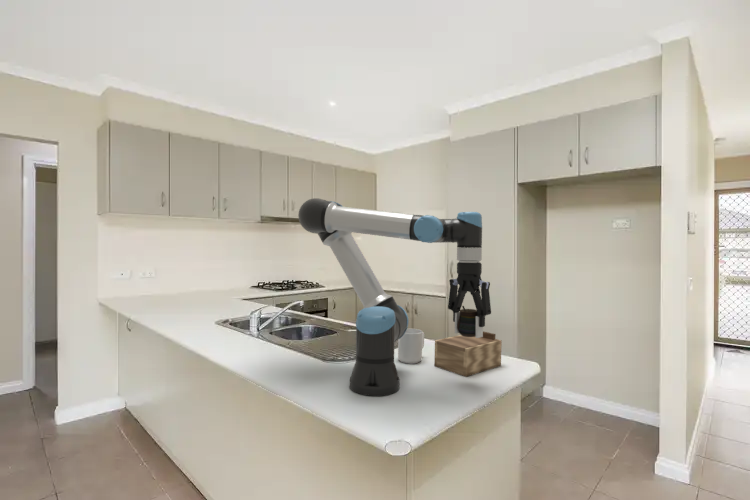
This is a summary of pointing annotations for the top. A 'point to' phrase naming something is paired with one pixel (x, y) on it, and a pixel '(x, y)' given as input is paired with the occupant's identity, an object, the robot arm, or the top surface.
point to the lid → (467, 341)
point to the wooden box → (468, 358)
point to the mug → (411, 346)
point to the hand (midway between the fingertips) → (468, 334)
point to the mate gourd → (467, 322)
